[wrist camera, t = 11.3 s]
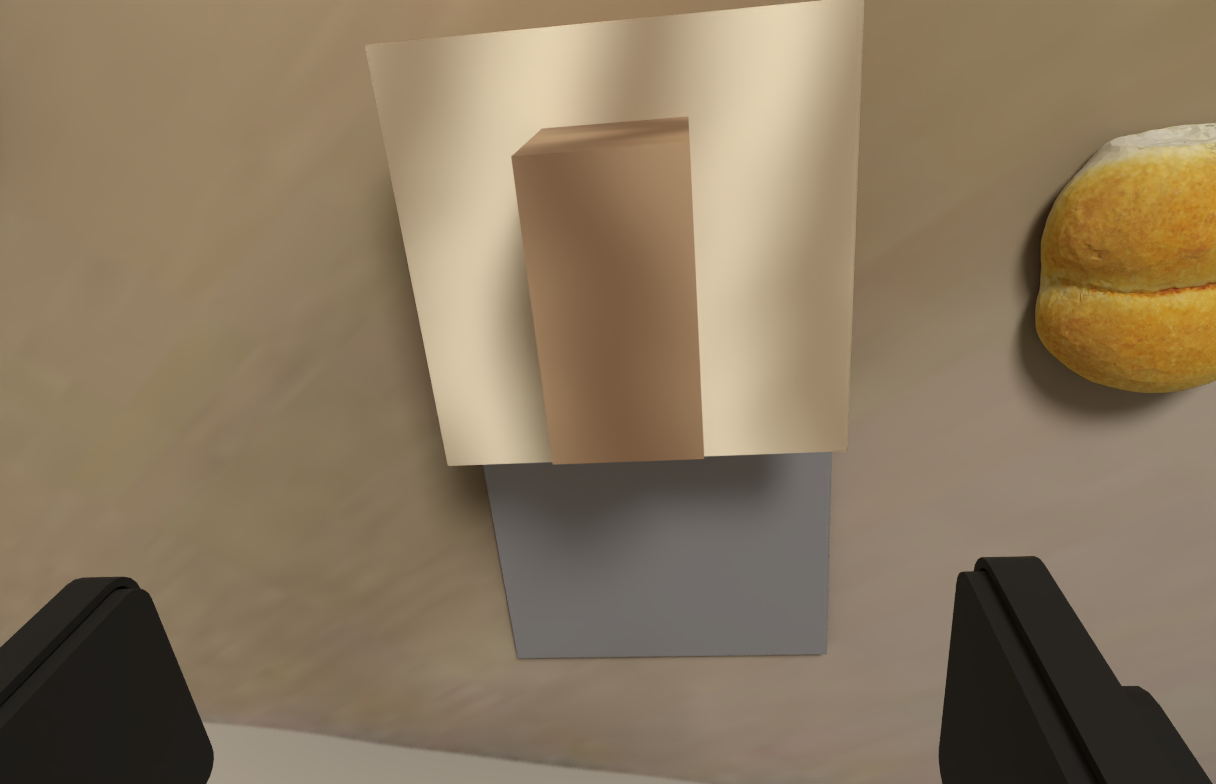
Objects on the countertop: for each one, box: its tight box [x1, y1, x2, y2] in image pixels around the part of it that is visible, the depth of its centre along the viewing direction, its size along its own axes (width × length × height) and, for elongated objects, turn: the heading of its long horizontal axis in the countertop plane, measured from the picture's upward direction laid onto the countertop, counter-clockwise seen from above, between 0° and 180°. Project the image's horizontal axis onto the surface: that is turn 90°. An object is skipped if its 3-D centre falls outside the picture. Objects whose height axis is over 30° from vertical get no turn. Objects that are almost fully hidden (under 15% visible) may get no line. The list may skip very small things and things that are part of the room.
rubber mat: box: [483, 452, 832, 658], centre depth 35 cm, size 14×14×1 cm
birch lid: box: [365, 0, 864, 466], centre depth 22 cm, size 13×13×6 cm
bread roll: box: [1035, 123, 1216, 393], centre depth 27 cm, size 8×9×4 cm
